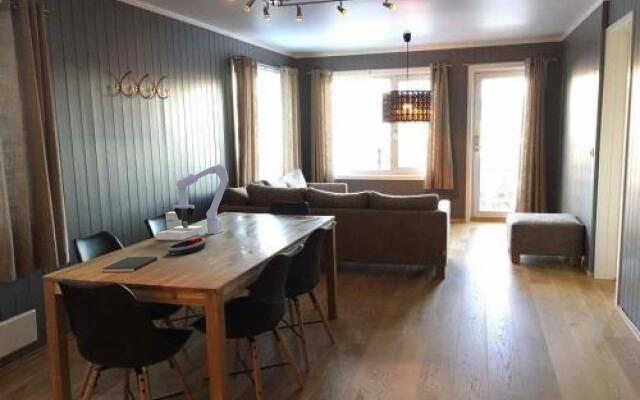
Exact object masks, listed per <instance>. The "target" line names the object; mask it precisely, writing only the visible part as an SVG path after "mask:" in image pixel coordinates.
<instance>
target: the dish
mask: <svg viewBox="0 0 640 400" xmlns="http://www.w3.org/2000/svg"><path fill="white" fill-rule="evenodd" d="M206 243H207V239H206V238H205V237H203V236H202V237H193V238H189V239H186V240H183V241H176V242H175V243H172V244H168V245H167V247H166V250H167V252H168V253H169V255H172V256H174V255H175V256H179V255H185V254H190V253H194V252H196V251H199V250H202V249H203V248H204V247H205V246H206Z"/></svg>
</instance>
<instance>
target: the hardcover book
mask: <svg viewBox="0 0 640 400" xmlns="http://www.w3.org/2000/svg"><path fill="white" fill-rule="evenodd" d="M157 261H158V257H157V256H127V257H126V258H123V259H121V260H119V261H116V262H114V263H111V264H110V265H107V266H105V267H102V270H103V272H104V273H105V272H107V273H111V272H115V273H116V272H118V273H119V272H136V271H138V270H141V269H142V268H145V267H146V266H148V265H150V264H152V263H154V262H157Z"/></svg>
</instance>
